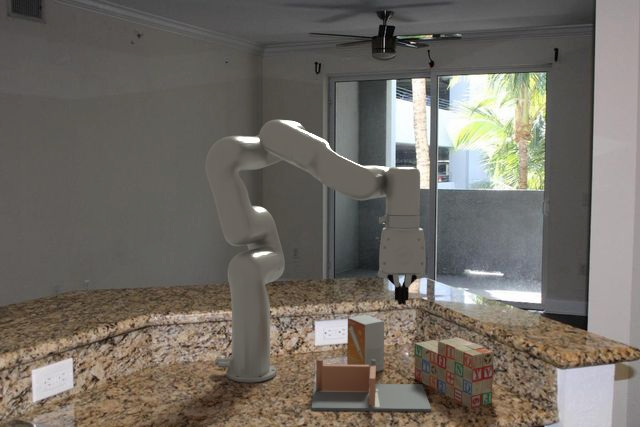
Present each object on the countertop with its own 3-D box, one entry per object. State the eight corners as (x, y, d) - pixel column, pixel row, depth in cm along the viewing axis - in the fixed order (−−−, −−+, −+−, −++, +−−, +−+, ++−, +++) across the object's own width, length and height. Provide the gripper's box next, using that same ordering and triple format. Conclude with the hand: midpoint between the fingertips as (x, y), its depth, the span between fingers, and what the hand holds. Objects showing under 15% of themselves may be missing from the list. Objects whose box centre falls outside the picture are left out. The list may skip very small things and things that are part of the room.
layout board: (311, 410, 143) (311, 407, 142) (313, 385, 157) (313, 383, 157) (431, 411, 142) (431, 408, 142) (422, 386, 157) (422, 384, 157)
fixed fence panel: (316, 391, 152) (316, 361, 151) (316, 388, 154) (316, 359, 153) (369, 391, 152) (369, 361, 151) (368, 389, 153) (368, 359, 153)
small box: (346, 365, 172) (346, 317, 171) (366, 361, 176) (366, 314, 174) (364, 374, 165) (364, 324, 164) (384, 370, 169) (385, 320, 168)
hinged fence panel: (370, 389, 153) (370, 359, 153) (375, 389, 153) (376, 359, 152) (369, 406, 143) (369, 374, 142) (374, 406, 143) (375, 374, 142)
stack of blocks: (413, 379, 162) (414, 330, 161) (434, 375, 165) (434, 327, 164) (471, 409, 144) (472, 354, 142) (493, 404, 146) (494, 350, 145)
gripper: (369, 224, 142) (369, 307, 144) (438, 224, 142) (437, 307, 144) (368, 220, 150) (367, 299, 151) (433, 220, 149) (432, 299, 151)
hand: (401, 303), depth 147 cm, fingers closed
